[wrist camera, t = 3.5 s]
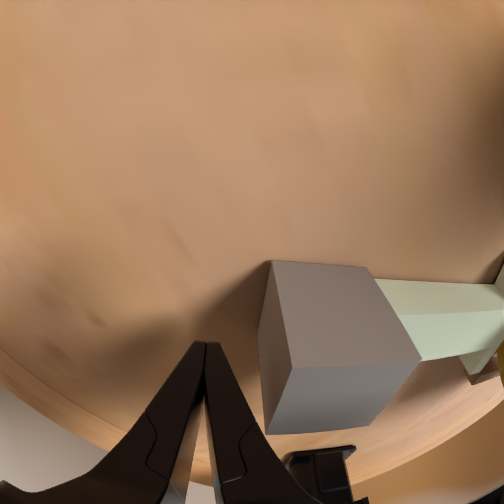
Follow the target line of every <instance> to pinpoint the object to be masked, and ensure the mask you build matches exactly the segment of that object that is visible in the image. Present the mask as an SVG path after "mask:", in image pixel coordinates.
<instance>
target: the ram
mask: <svg viewBox="0 0 504 504" xmlns="http://www.w3.org/2000/svg"><path fill="white" fill-rule="evenodd" d="M503 340H504V265H503V267H502V269H501V271H500V273H499V275H498V278H497V280H496V282H495V284H494V285H492V284H467V283H445V282H425V281H407V280H389V279H374V278H373V277H372V275H371V274H370V272H369V271H368V269H367V268H363V267H350V266H338V265H326V264H314V263H302V262H290V261H278V260H272V261H271V266H270V271H269V277H268V282H267V287H266V292H265V298H264V303H263V308H262V313H261V318H260V323H259V328H258V333H257V341H258V353H259V365H260V377H261V389H262V401H263V412H264V424H265V435H280V434H300V433H314V432H324V431H333V430H341V429H349V428H356V427H362V426H368V425H370V423H371V422H372V421H373V420H374V419H375V418H376V417H377V416H378V415H379V413H380V412H381V411H382V410H383V409H384V408H385V406H386V405H387V404H388V403H389V402H390V401H391V399H392V398H393V397H394V396H395V394H396V393H397V392H398V391H399V389H400V388H401V387H402V386H403V384H404V383H405V382H406V380H407V379H408V378H409V376H410V375H411V374H412V372H413V371H414V370H415V368H416V367H417V365H418V364H419V363H420V361H427V360H433V359H439V358H445V357H451V356H456V355H458V357H459V358H460V360H461V362H462V363H463V365H464V367H465V368H466V370H467V372H468V373H469V375H472V374H476V373H479V372H480V371H481V370H482V369H483V367H484V366H485V365H486V363H487V362H488V361H489V360H490V358H491V357H492V356H493V354H494V353H495V351H496V350H497V349H498V347H499V346H500V344H501V343H502V342H503Z"/></svg>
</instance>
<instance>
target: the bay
mask: <svg viewBox="0 0 504 504" xmlns="http://www.w3.org/2000/svg"><path fill="white" fill-rule="evenodd" d="M465 374H466V376H467V378H468V379H469V381H470V383H471V385H475V384H478V383H481V382H484V381H486V380H489V379H492V378H494V377H497V376H499V375H500V373H499V367H498V360H497V357H494V358H491V359H490V360H489V361H488V362H487V363H486V365H485V366H484V367H483V369H482V370H481V371H480V372H479V373H476V374H472V375H469V373H468V372H467V371H466V372H465Z"/></svg>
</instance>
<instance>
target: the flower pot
mask: <svg viewBox="0 0 504 504" xmlns="http://www.w3.org/2000/svg"><path fill="white" fill-rule="evenodd" d="M497 360H498V367H499V373H500V377H501V381H502V384H503V387H504V340H503V342H502V343H501V344H500V346H499V347H498V349H497Z"/></svg>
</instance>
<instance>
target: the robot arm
mask: <svg viewBox="0 0 504 504" xmlns="http://www.w3.org/2000/svg"><path fill="white" fill-rule="evenodd" d="M203 403H204V405H205V417H206V427H207V437H208V446H209V455H210V463H211V471H212V479H213V486H214V492H215V500H216V504H369V501H368V497H365V498H362V499H361V500H358V501H354V499H353V495H352V490H351V485H350V481H349V476H348V472H347V467H346V463H345V460H346V459H347V458H348V457H349V456H350V455H351V454H352V453H354V452H355V451H356V450H357V449H356V446H348V447H342V448H335V449H328V450H319V451H310V452H298V453H294V454H292V455H291V456H290V457H289V459H288V460H287V461H286V463H285V464H284V465H283V463H282V462H281V461H280V459H279V458H278V457H277V455H276V454H275V452H274V451H273V449H272V448H271V446H270V445H269V443H268V442H267V440H266V438H265V436H264V435H263V433H262V431H261V429H260V427H259V425H258V423H257V422H256V420H255V418H254V416H253V414H252V412H251V409H250V407H249V405H248V403H247V401H246V399H245V397H244V395H243V393H242V391H241V389H240V387H239V384H238V382H237V380H236V378H235V376H234V374H233V372H232V369H231V367H230V365H229V363H228V360H227V358H226V356H225V354H224V352H223V349H222V347H221V345H220V343H219V342H207V343H206V341H198V340H195V341H194V342H193V343H192V344H191V346H190V347H189V349H188V350H187V352H186V353H185V354H184V356H183V357H182V359H181V360H180V361H179V363H178V364H177V366H176V367H175V368H174V370H173V371H172V373H171V374H170V375H169V377H168V378H167V380H166V381H165V383H164V384H163V385H162V387H161V388H160V390H159V391H158V392H157V394H156V395H155V397H154V398H153V399H152V401H151V402H150V404H149V405H148V406H147V408H146V409H145V412H143V413H142V415H141V416H140V417H139V419H138V420H137V422H136V423H135V424H134V425H133V427H132V428H131V429H130V431H129V432H128V433H127V434H126V435H125V436H124V437H123V438H122V440H121V441H120V442H119V443H118V444H117V445H116V446H115V447H114V448H113V449H112V450H111V451H110V452H109V453H108V454H107V455H106V456H105V457H104V458H103V459H102V460H101V461H100V462H99V463H98V464H97V465H96V466H95V467H94V468H93V469H91V470H90V471H89V472H87V473H86V474H84V475H82V476H80V477H77V478H75V479H73V480H70V481H68V482H65V483H63V484H60V485H57V486H55V487H52V488H49V489H46V490H44V491H40V492H34V493H30V492H25V491H22V490H20V489H19V488H17V487H15V486H13V485H12V484H9V483H8V482H6V481H5V480H2V481H0V504H185V500H186V494H187V488H188V483H189V477H190V472H191V466H192V461H193V456H194V450H195V445H196V440H197V434H198V429H199V424H200V419H201V414H202V408H203ZM467 504H504V483H502V484H501V485H499V486H497V487H496V488H494V489H492V490H491V491H489V492H487V493H486V494H484V495H482V496H480V497H478V498H476V499H474V500H472V501H470V502H468V503H467Z"/></svg>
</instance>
